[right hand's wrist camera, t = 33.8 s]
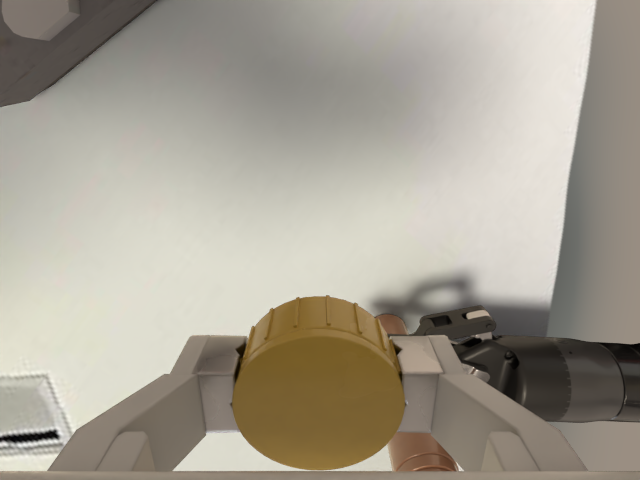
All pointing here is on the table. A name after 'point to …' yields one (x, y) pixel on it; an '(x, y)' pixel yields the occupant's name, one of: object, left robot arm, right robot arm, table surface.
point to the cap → (318, 385)
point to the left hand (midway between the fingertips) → (368, 369)
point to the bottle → (414, 447)
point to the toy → (54, 39)
